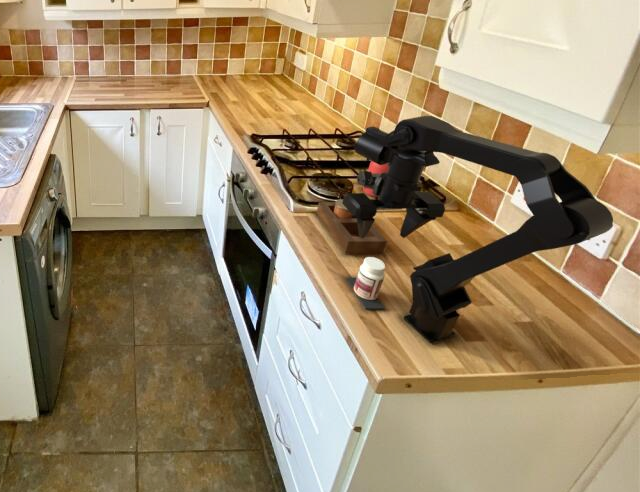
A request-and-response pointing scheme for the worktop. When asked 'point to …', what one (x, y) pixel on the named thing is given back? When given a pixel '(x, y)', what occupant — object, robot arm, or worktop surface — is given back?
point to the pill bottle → (369, 278)
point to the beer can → (375, 169)
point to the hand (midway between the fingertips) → (381, 236)
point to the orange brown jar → (341, 210)
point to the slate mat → (366, 303)
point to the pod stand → (350, 232)
